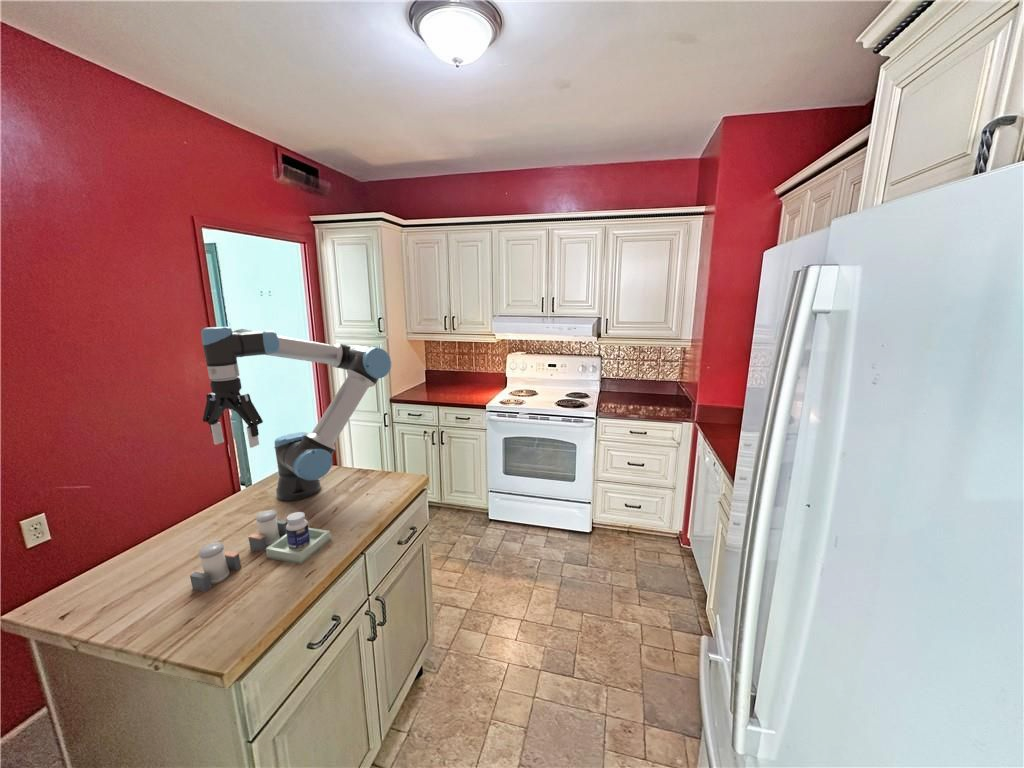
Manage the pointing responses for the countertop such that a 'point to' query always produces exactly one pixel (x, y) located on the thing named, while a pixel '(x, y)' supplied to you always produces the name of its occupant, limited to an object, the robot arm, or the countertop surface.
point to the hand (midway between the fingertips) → (236, 444)
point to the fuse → (268, 526)
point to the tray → (283, 553)
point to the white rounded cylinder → (214, 562)
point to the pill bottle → (297, 531)
